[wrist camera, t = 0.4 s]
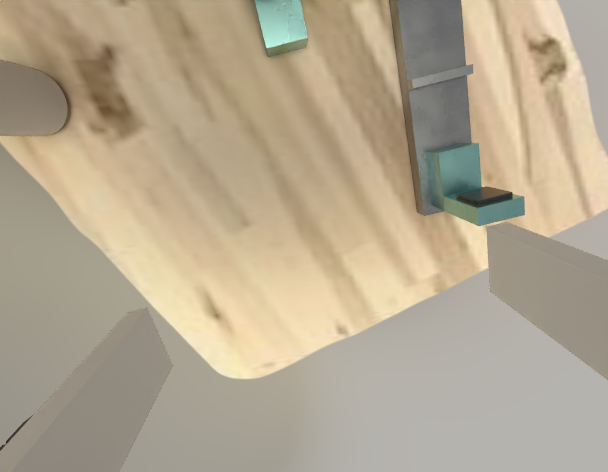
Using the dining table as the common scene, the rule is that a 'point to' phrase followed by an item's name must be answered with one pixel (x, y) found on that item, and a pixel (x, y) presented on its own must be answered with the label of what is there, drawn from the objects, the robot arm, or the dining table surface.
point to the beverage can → (29, 102)
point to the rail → (442, 114)
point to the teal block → (282, 25)
